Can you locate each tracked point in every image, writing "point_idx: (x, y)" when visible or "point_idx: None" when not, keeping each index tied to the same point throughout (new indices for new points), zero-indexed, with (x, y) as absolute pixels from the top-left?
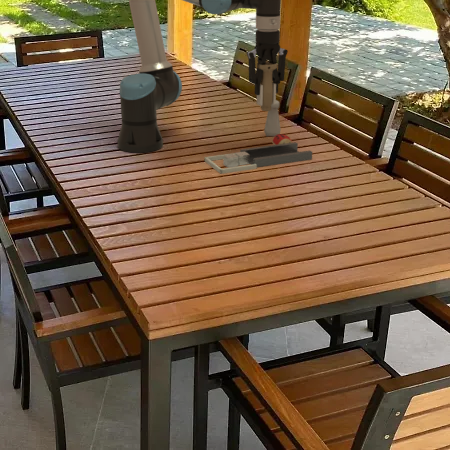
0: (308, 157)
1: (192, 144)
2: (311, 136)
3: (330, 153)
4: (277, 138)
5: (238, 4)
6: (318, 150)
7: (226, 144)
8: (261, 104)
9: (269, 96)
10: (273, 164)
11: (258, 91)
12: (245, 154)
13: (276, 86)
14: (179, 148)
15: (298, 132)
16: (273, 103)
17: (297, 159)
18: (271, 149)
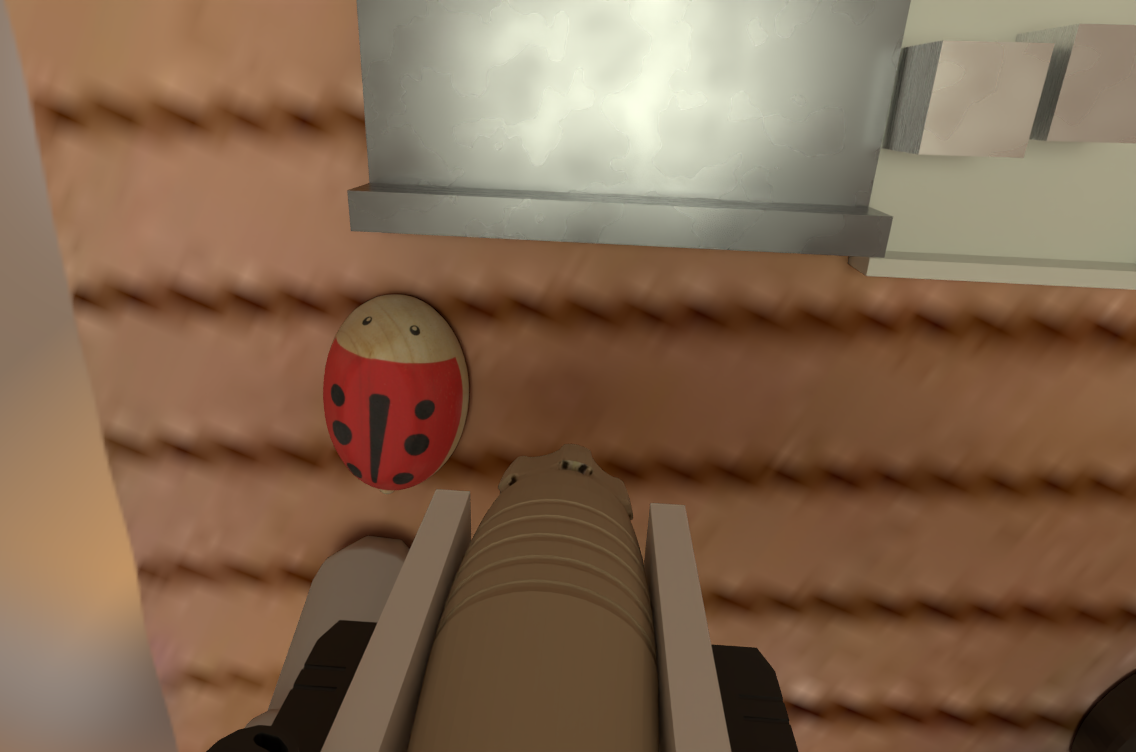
0: None
1: (923, 649)
2: (127, 472)
3: (120, 64)
4: (430, 413)
5: None
6: (188, 178)
7: (734, 565)
8: (668, 512)
9: (544, 551)
10: None
11: (737, 700)
12: (972, 64)
13: (314, 726)
14: (1045, 621)
15: (183, 571)
16: (466, 499)
17: None
18: (605, 199)
